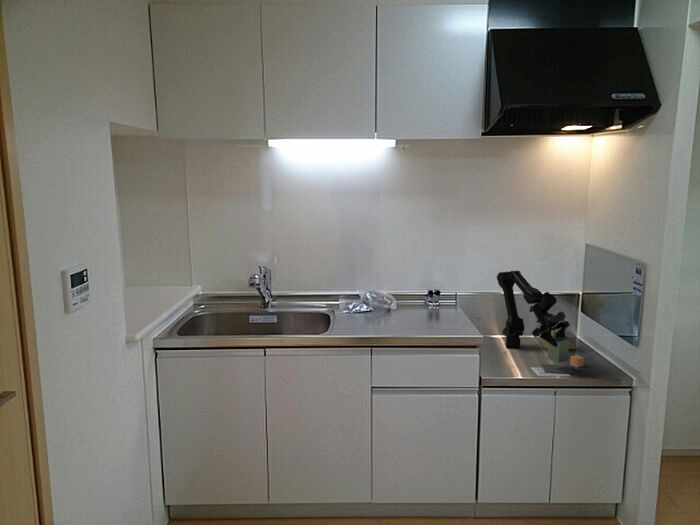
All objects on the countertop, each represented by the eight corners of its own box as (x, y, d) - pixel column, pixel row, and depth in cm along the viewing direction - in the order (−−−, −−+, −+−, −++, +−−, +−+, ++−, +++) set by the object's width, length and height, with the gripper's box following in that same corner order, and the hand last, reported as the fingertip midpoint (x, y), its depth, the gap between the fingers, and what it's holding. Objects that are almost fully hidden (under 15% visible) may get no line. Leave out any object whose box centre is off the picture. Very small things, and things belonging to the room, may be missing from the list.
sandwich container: (578, 348, 249) (580, 320, 246) (551, 351, 246) (553, 322, 243) (568, 343, 257) (570, 315, 255) (541, 345, 254) (543, 317, 251)
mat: (545, 372, 219) (545, 371, 219) (541, 364, 228) (541, 363, 228) (573, 374, 217) (573, 373, 217) (568, 366, 225) (568, 365, 225)
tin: (547, 358, 223) (548, 337, 221) (556, 356, 225) (558, 335, 224) (558, 362, 217) (559, 341, 216) (567, 360, 220) (569, 339, 218)
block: (569, 364, 228) (570, 356, 227) (575, 363, 230) (576, 355, 229) (577, 367, 224) (578, 359, 224) (583, 365, 226) (583, 357, 226)
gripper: (538, 309, 216) (557, 340, 209) (568, 303, 225) (587, 333, 217) (524, 321, 225) (542, 352, 217) (552, 316, 233) (571, 345, 225)
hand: (561, 345), depth 219 cm, fingers closed on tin, 6 cm apart
